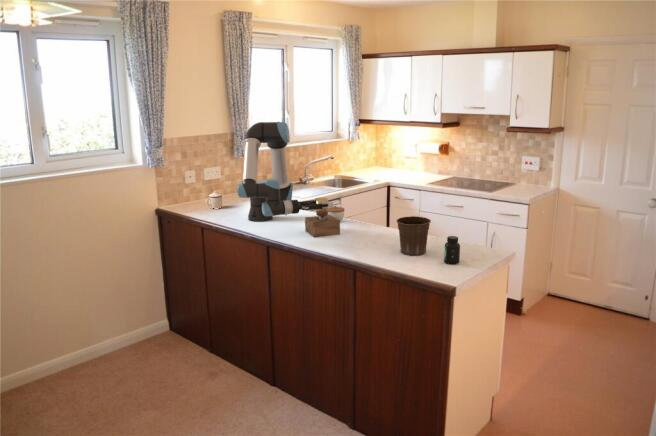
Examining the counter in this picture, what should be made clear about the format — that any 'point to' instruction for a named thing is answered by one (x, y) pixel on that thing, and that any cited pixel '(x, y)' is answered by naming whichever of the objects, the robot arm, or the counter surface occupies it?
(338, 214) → the lidded jar
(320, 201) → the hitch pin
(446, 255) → the supplement bottle
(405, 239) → the plant pot
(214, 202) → the teacup with lid
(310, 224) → the block
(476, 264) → the counter surface
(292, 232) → the counter surface
